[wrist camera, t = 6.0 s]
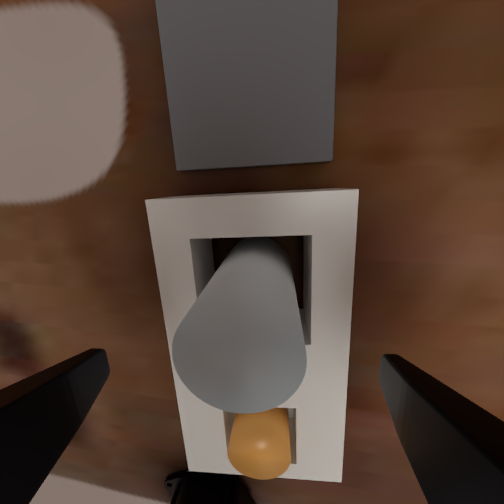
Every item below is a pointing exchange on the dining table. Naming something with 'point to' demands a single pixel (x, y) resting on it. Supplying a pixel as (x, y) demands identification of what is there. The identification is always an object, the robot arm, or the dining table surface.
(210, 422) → the white slotted block
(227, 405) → the cylinder
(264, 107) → the mat
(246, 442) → the plunger
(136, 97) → the dining table surface
